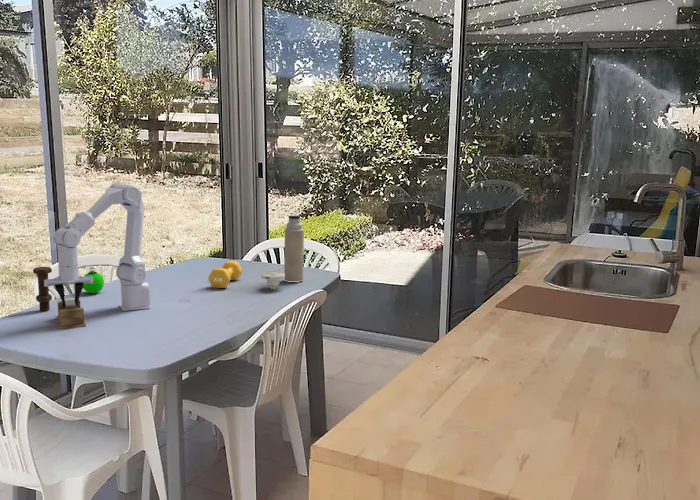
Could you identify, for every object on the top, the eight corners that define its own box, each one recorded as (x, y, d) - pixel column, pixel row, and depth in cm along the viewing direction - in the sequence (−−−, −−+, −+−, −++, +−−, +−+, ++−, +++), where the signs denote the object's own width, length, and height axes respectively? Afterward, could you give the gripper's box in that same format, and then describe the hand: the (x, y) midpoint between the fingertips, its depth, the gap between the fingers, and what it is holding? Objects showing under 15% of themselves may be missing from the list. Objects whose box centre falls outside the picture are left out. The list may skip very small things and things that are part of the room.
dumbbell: (228, 290, 260) (228, 270, 259) (206, 288, 262) (206, 268, 260) (243, 279, 279) (243, 261, 277) (223, 278, 280) (223, 259, 279)
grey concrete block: (75, 317, 217) (74, 299, 216) (76, 322, 212) (75, 304, 211) (65, 318, 216) (64, 300, 215) (66, 323, 211) (65, 305, 210)
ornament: (105, 290, 255) (104, 265, 253) (104, 295, 247) (103, 269, 245) (82, 291, 252) (81, 265, 251) (81, 296, 245) (80, 270, 243)
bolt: (45, 313, 222) (43, 270, 220) (32, 312, 223) (30, 269, 221) (56, 308, 228) (54, 266, 225) (43, 307, 229) (41, 265, 226)
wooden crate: (81, 315, 222) (80, 299, 221) (85, 326, 210) (85, 309, 209) (57, 317, 218) (56, 301, 217) (60, 329, 206) (59, 311, 205)
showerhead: (289, 270, 266) (278, 275, 256) (289, 287, 267) (277, 293, 258) (269, 267, 269) (257, 272, 260) (269, 285, 270) (256, 290, 261)
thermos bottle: (291, 277, 284) (292, 213, 279) (306, 280, 280) (307, 215, 275) (280, 281, 278) (281, 215, 272) (295, 284, 273) (296, 217, 268)
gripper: (44, 269, 204) (46, 311, 206) (93, 266, 210) (95, 306, 213) (42, 264, 210) (45, 305, 212) (91, 261, 217) (92, 301, 219)
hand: (70, 306), depth 213 cm, fingers closed on grey concrete block, 3 cm apart
